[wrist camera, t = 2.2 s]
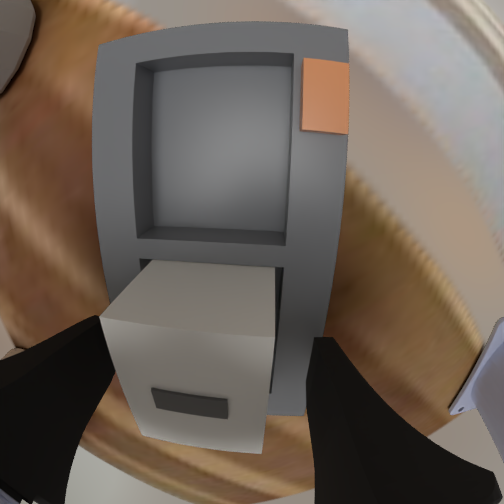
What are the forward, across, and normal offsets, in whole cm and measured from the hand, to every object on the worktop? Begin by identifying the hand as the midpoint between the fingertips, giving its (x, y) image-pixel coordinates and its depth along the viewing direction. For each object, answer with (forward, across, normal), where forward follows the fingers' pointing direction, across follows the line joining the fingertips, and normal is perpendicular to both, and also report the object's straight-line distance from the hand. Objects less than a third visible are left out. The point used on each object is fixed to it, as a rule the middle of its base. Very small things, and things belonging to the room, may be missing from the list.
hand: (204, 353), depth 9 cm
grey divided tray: (+3, 0, -3) cm, 5 cm away
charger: (+2, 0, 0) cm, 3 cm away
